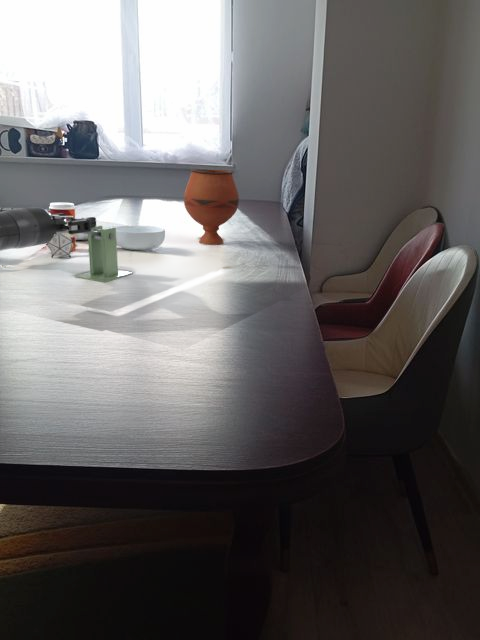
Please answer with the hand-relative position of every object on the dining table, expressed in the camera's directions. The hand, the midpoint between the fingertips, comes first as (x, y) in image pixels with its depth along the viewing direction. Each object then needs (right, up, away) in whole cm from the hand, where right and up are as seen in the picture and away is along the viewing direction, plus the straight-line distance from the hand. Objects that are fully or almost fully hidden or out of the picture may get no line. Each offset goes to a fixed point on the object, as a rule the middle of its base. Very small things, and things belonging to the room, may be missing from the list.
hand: (79, 219), depth 117 cm
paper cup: (-20, +1, +44) cm, 48 cm away
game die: (-17, -3, +34) cm, 38 cm away
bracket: (+2, -12, +12) cm, 17 cm away
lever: (0, -4, +3) cm, 5 cm away
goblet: (+23, +9, +70) cm, 74 cm away
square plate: (-26, +12, +70) cm, 76 cm away
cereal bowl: (+2, +2, +49) cm, 49 cm away
